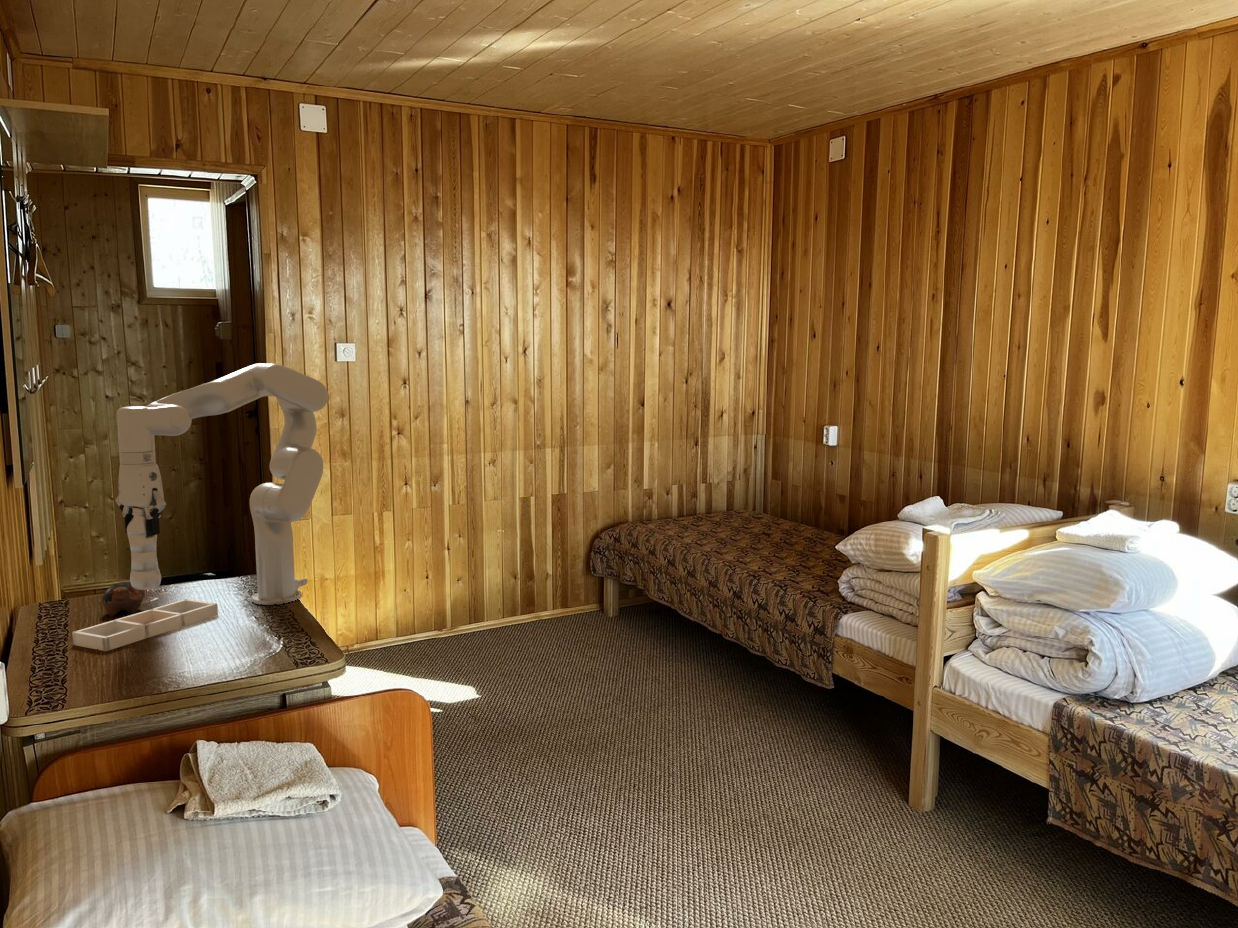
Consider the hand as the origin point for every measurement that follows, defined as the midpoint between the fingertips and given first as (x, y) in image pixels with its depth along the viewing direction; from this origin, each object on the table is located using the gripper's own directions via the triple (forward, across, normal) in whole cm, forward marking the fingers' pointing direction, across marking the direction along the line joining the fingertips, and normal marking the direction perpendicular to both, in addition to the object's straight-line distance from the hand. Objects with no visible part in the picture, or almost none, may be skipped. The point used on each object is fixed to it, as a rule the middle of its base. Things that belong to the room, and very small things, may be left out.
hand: (142, 533), depth 220 cm
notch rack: (+24, 0, 0) cm, 24 cm away
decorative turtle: (+24, +19, -8) cm, 32 cm away
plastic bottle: (+14, 0, 0) cm, 14 cm away
